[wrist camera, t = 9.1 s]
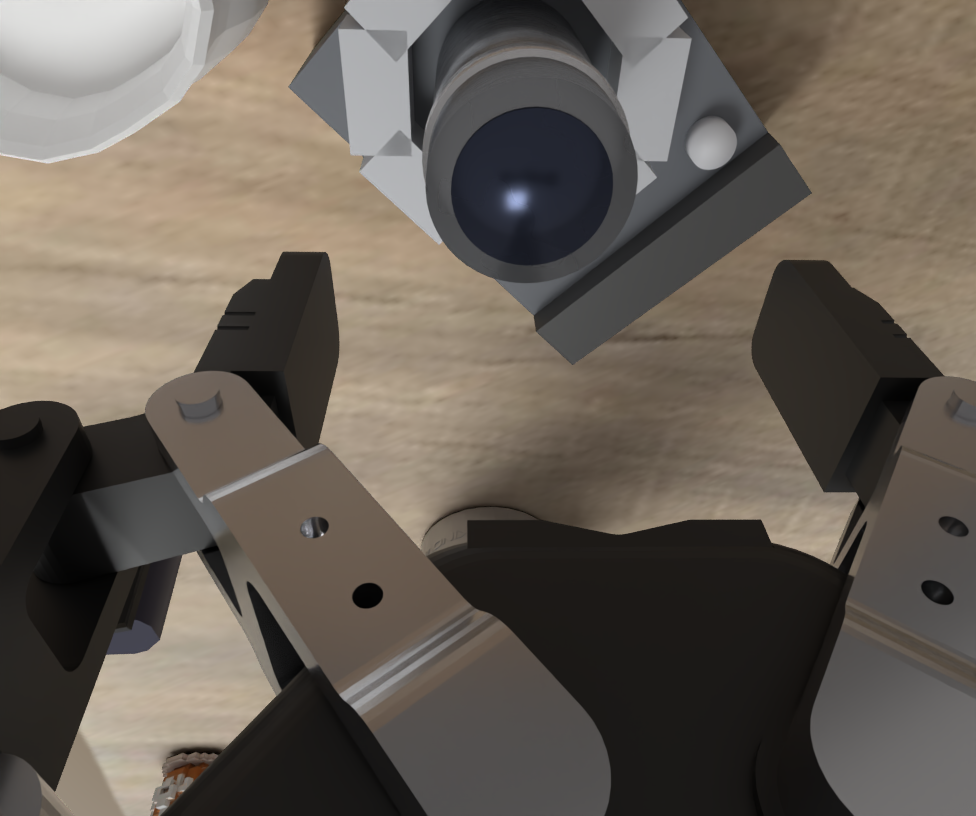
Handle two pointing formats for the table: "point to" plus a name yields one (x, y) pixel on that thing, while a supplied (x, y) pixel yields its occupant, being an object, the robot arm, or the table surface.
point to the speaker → (145, 607)
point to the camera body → (653, 130)
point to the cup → (104, 67)
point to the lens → (525, 146)
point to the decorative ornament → (178, 778)
